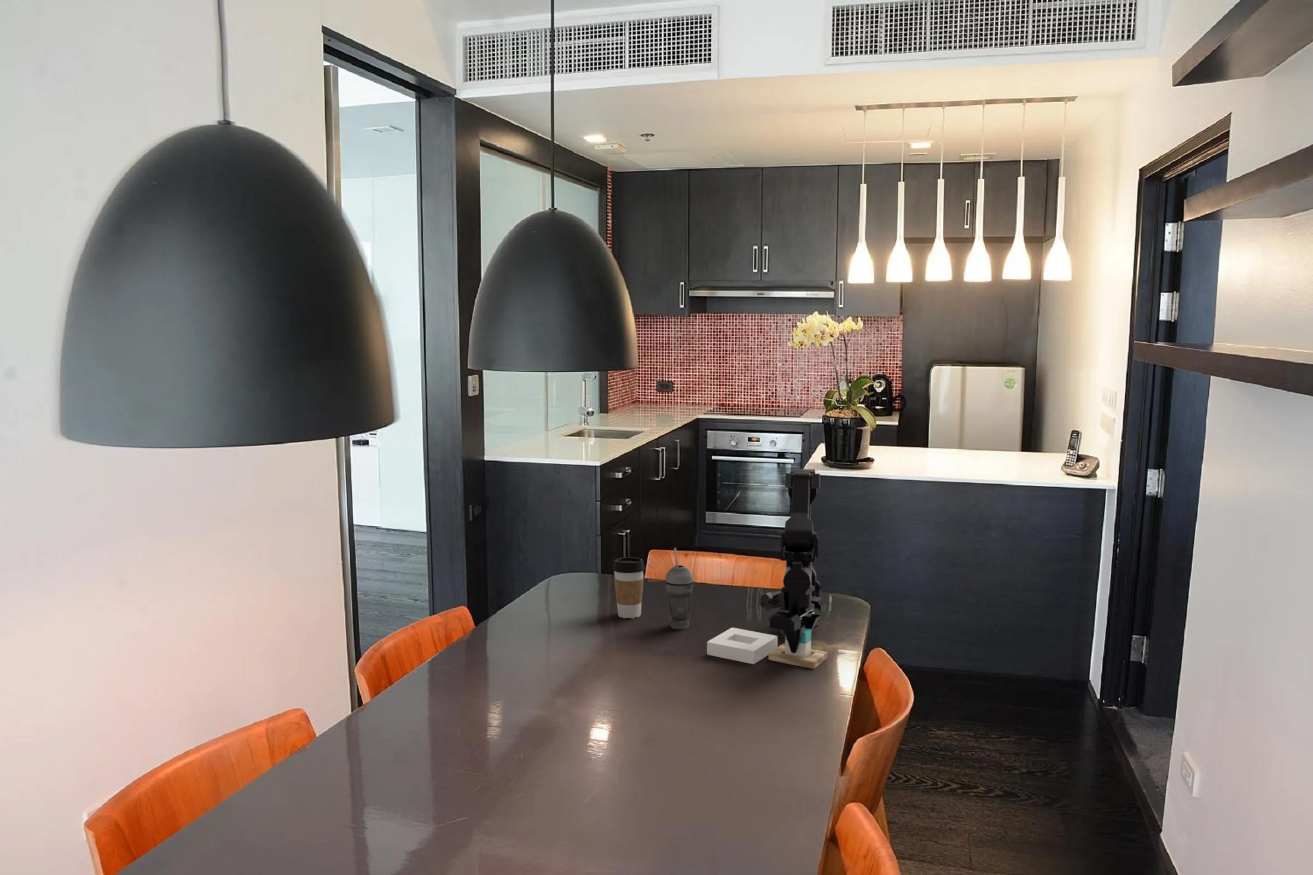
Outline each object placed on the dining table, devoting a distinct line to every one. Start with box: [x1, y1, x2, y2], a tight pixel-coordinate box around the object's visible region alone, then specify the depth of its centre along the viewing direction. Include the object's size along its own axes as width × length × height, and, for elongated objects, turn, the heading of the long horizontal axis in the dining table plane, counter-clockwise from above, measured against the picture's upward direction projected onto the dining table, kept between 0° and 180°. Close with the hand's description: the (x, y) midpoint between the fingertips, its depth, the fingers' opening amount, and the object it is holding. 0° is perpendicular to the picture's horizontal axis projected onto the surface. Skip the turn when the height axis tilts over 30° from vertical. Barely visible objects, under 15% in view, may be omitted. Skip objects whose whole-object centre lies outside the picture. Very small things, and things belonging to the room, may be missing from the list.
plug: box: [784, 628, 812, 658], centre depth 211 cm, size 3×5×7 cm, turn 57°
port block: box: [706, 627, 779, 665], centre depth 217 cm, size 12×12×3 cm
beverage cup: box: [664, 547, 695, 630], centre depth 234 cm, size 7×7×20 cm
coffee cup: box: [612, 556, 646, 619], centre depth 244 cm, size 8×8×15 cm
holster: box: [768, 643, 828, 670], centre depth 211 cm, size 7×11×2 cm
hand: (797, 649), depth 211 cm, fingers open, 4 cm apart
